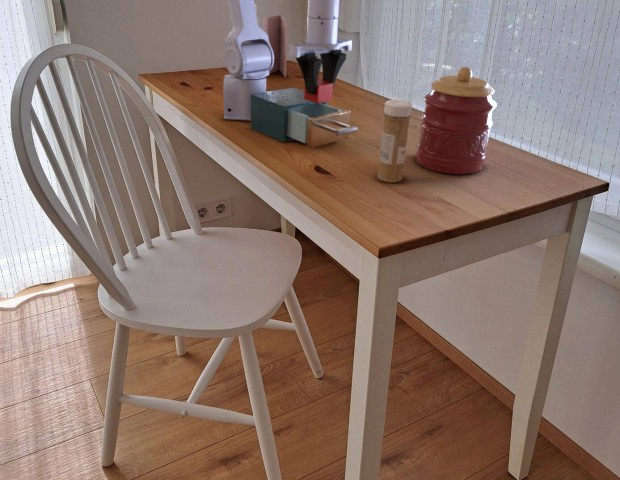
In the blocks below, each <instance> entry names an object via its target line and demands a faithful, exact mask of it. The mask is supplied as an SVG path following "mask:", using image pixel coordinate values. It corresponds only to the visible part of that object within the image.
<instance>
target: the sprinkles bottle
mask: <svg viewBox="0 0 620 480" xmlns="http://www.w3.org/2000/svg"><path fill="white" fill-rule="evenodd" d="M383 109H384V110H383V113H384V114H383V115H384V118H383V126H382V134H381V143H380V153H379V166H378V173H377V178H378V179H379V180H380V181H382V182H385V183H391V184H392V183H393V184H395V183H398V182H401V181H402V180H403V178H404V176H403V173H404V166H405V165H404V163H405V161H406V159H405V158H406V151H407V150H406V149H407V142H408V131H409V123H410V118H411V115H412V111H413V104H412V103H411V102H410V101H408V100H405V99H388V100H386V101H385V103H384V108H383Z"/></svg>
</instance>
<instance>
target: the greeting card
mask: <svg viewBox="0 0 620 480" xmlns="http://www.w3.org/2000/svg"><path fill="white" fill-rule="evenodd" d="M261 26H262V30H263V31H264V32H265V33H266V34H267V35H268V38H269V43H270V45H271V47H272V50H273V53H274V65H273V67H272V69H271V70H270V71H269V74H271V73H274V72H276V71H278V70H279V71H280V72H281V73H282V75H283V76H284V78H287V37H288V35H287V34H288V32H287V31H288V30H287V29H288V20H287V19H286V18H284V17H283V16H282V15H281V14H277V15H273V16H270V17H265V18H261Z"/></svg>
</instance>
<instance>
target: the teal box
mask: <svg viewBox="0 0 620 480" xmlns="http://www.w3.org/2000/svg"><path fill="white" fill-rule="evenodd" d="M304 93H305V90H302V89H299V88H296V87H288V88H282V89H277V90H276V89H275V90H270V91H269V90H268V91H266V92H263V93H257V94H251V121H250V129H251V130H253V131H255V132H258V133H260V134H262V135H265V136H268V137H270V138H273V139H275V140H277V141H279V142H282V143H287V142H291V141H295V140H296V139H293V138H291V137H288V136H286V113H287V109H290V108H295V107H300V106H305V105H310V104H316V103H315V102H312V101H309V100H306V99H304ZM323 104H326V105H328V102H323ZM296 141H297V140H296Z"/></svg>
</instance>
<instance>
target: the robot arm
mask: <svg viewBox="0 0 620 480" xmlns="http://www.w3.org/2000/svg"><path fill="white" fill-rule="evenodd" d="M227 3H228V9H229V14H230V15H229V16H230V19H231V25H232V30H231V31H230V32H229V34H228V35H227V37H226V38H225V39H224V40H223V42H224V48H225V49H224V63H225V64H224V65H225V67H226V69H227V71H228V73H229V74H226V75H224V78H223V85H222V88H223V90H222V92H223V120H229V121H230V120H231V121H233V120H234V121H248V122H251V94H257V93H263V92H267V76H270V73H269V71H270V70H271V69H272V67H273V65H274V53H273V50H272V47H271V45H270V43H269V38H268V35H267V34H266V33H265V32H264V31H263V30H262V29H261V28H260V27H259V26H258V23H257V18H258V17H257V13H256V11H255V5H256V4H255V0H227ZM339 11H340V0H308V1H307V26H306V27H307V28H306V40H305V41H301V42H298V43H293V44H289V48H288V49H289V51H288V55H289V57H291V58H295V60H296V62H297V64H298V66H299V69H300V71H301V74H302V78H303V81H304V88H305V87H306V92H307V93H308V94H311V95H316V91H317V83H318V79H319V75H320V74H319V73H320V70H321V68H322V80H324V81H327V82H330V83H333V88H334V87H335V84H336V81H337V77H338V74H339V73H340V70H341V68H342V66H343V65H344V63H345V61H347V54H346V53H343V52H345V51H346V52H352V48H353V40H352V39H349V38H338V29H339V13H340V12H339ZM242 42H252V43H250V44H242V45H241V43H242ZM317 55H319V56H320V58H318V56H317Z"/></svg>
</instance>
